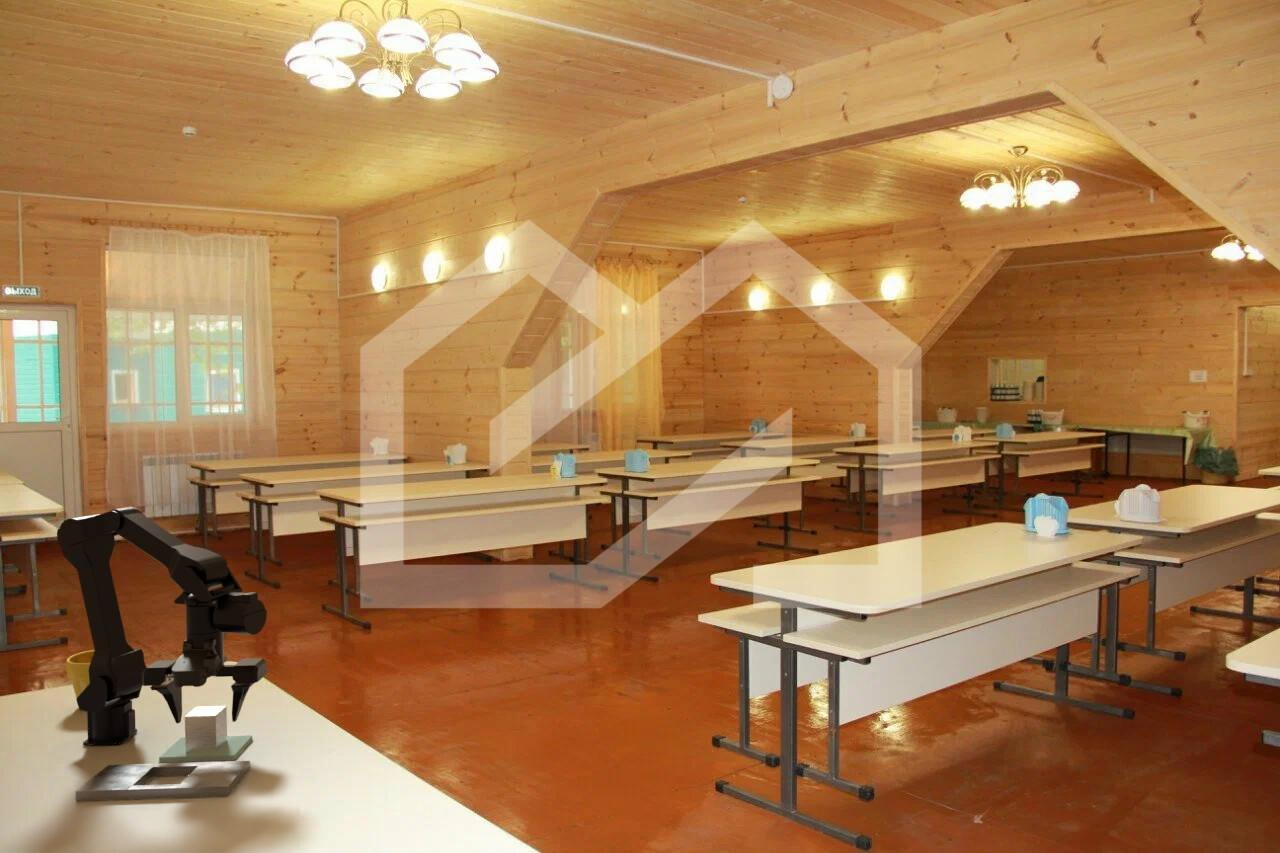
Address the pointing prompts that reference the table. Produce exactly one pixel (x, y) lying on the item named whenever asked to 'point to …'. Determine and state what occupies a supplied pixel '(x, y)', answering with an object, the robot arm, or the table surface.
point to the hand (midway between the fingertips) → (206, 721)
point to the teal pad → (225, 752)
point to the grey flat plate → (132, 777)
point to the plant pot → (79, 670)
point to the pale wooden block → (206, 728)
